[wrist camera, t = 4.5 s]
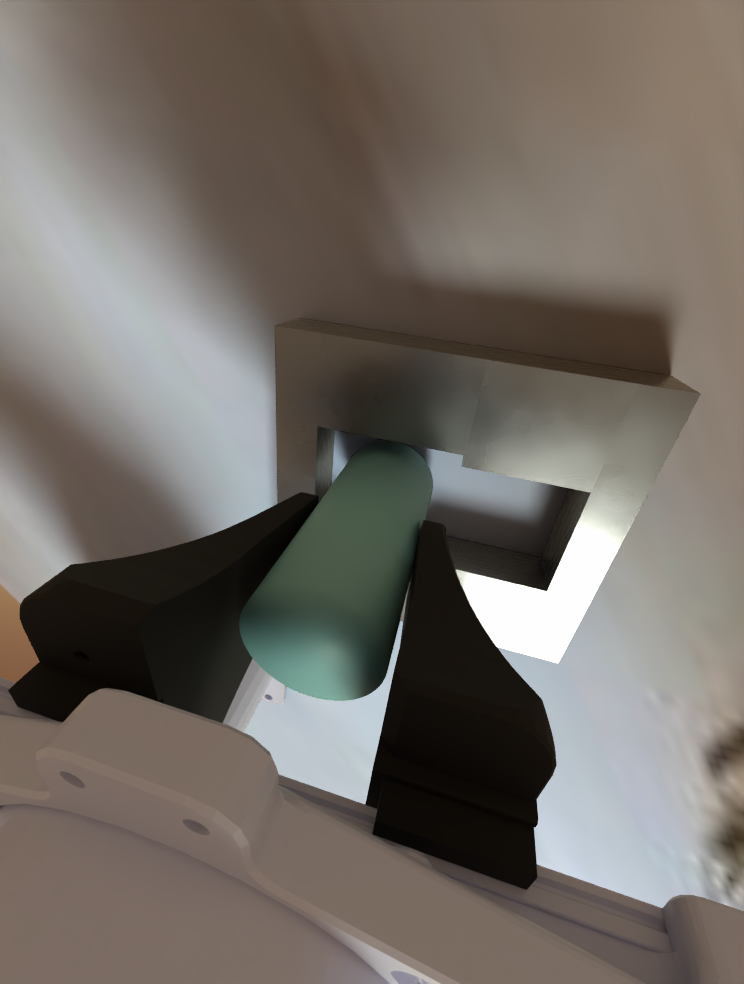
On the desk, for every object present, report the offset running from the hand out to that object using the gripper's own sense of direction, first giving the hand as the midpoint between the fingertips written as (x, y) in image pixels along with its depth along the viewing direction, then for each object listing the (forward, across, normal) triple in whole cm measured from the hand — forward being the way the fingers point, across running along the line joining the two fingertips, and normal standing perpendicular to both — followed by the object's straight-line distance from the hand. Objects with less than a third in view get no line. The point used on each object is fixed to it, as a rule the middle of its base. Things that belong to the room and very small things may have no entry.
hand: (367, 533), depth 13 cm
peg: (+3, 0, 0) cm, 3 cm away
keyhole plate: (+4, -2, 0) cm, 4 cm away
